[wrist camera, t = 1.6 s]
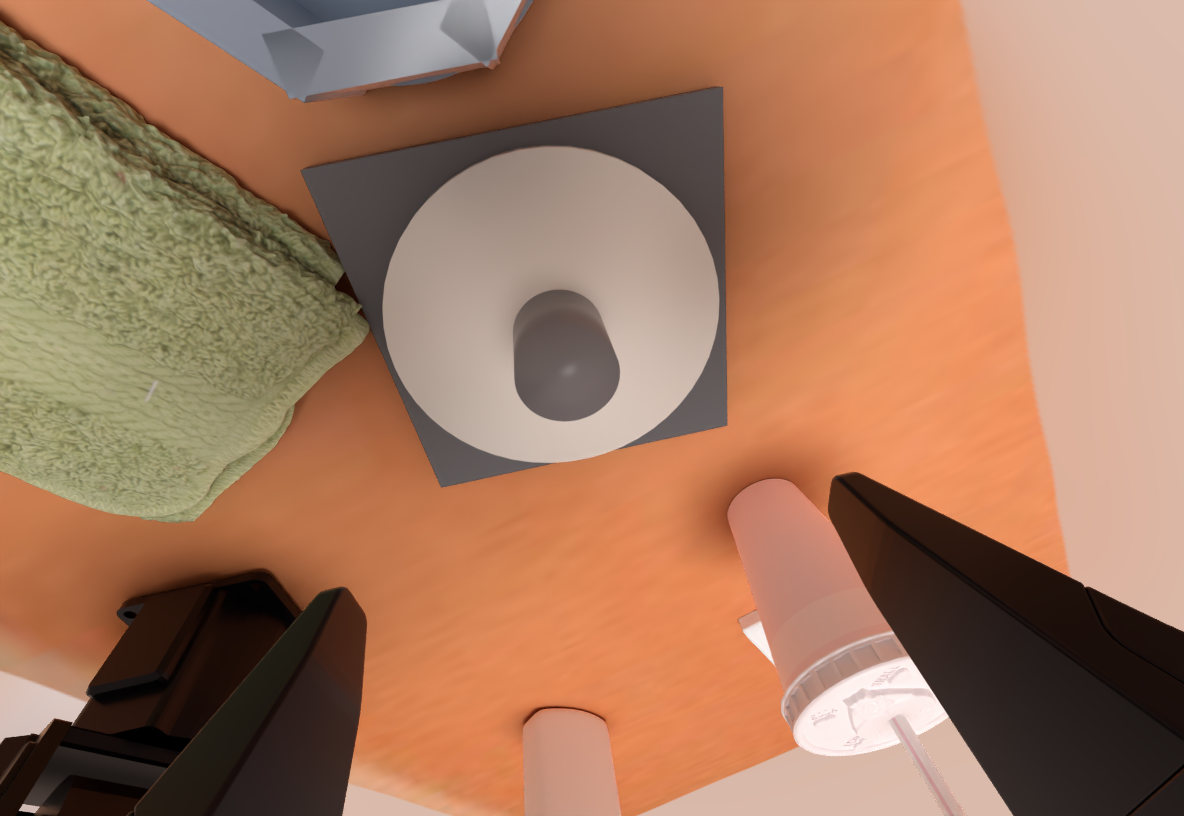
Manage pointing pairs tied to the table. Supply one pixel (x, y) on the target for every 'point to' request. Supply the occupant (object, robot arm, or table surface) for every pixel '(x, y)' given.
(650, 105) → the mat
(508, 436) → the lid
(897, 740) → the smoothie
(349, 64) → the bowl
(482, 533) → the table surface
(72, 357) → the washcloth
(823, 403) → the table surface
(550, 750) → the eye dropper bottle
